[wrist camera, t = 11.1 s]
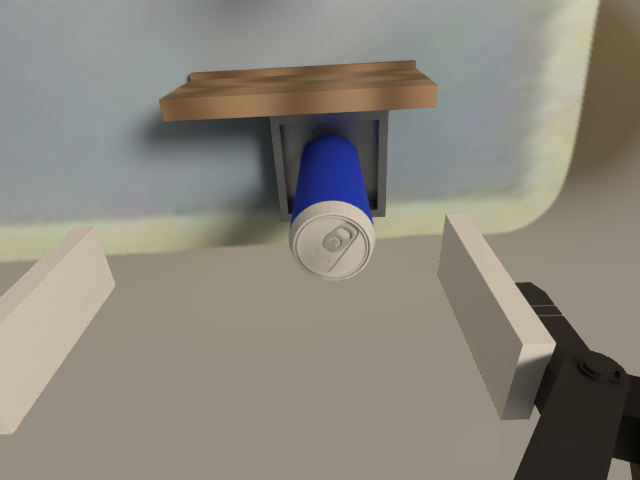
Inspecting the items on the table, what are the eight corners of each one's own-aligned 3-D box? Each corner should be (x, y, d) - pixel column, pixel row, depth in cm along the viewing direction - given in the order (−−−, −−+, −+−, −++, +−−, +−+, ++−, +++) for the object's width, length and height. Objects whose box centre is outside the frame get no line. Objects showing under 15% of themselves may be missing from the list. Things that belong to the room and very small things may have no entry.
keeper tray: (283, 208, 40) (281, 221, 37) (272, 109, 35) (269, 116, 33) (381, 204, 39) (385, 216, 37) (384, 103, 35) (388, 110, 32)
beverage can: (332, 198, 39) (335, 298, 26) (289, 163, 37) (269, 252, 24) (370, 158, 37) (396, 245, 24) (327, 119, 35) (328, 190, 22)
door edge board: (197, 103, 35) (165, 129, 28) (191, 72, 33) (156, 92, 27) (412, 91, 34) (435, 115, 27) (414, 60, 33) (438, 76, 26)
